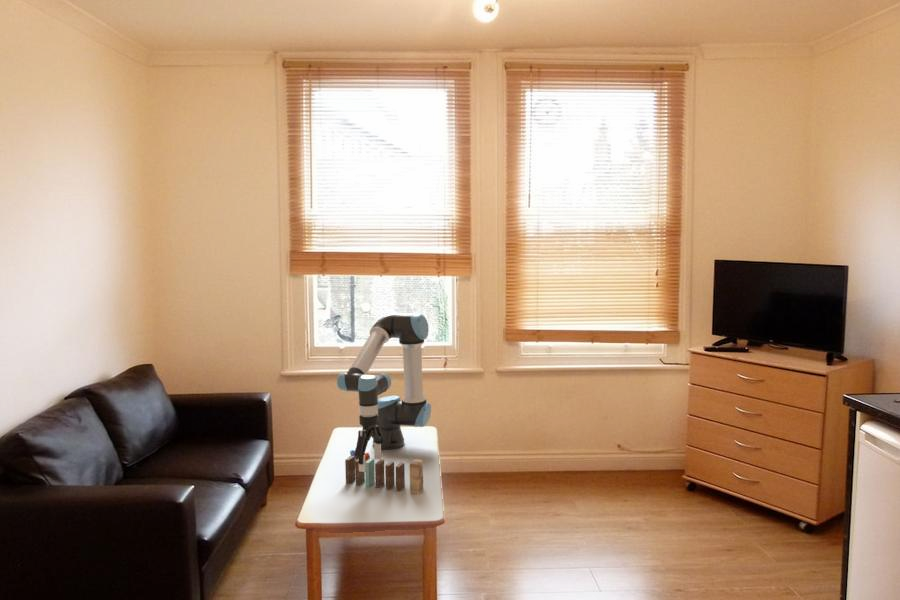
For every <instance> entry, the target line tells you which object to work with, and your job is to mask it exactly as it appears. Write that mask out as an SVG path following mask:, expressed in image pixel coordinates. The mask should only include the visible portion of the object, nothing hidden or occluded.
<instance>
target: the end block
mask: <svg viewBox="0 0 900 600" xmlns="http://www.w3.org/2000/svg"><path fill="white" fill-rule="evenodd" d="M423 490H424V460H423V459H418V458H417V459H412V461H411V462H409V494H413V495H419V494H420V493H421V492H422V491H423Z"/></svg>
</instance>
